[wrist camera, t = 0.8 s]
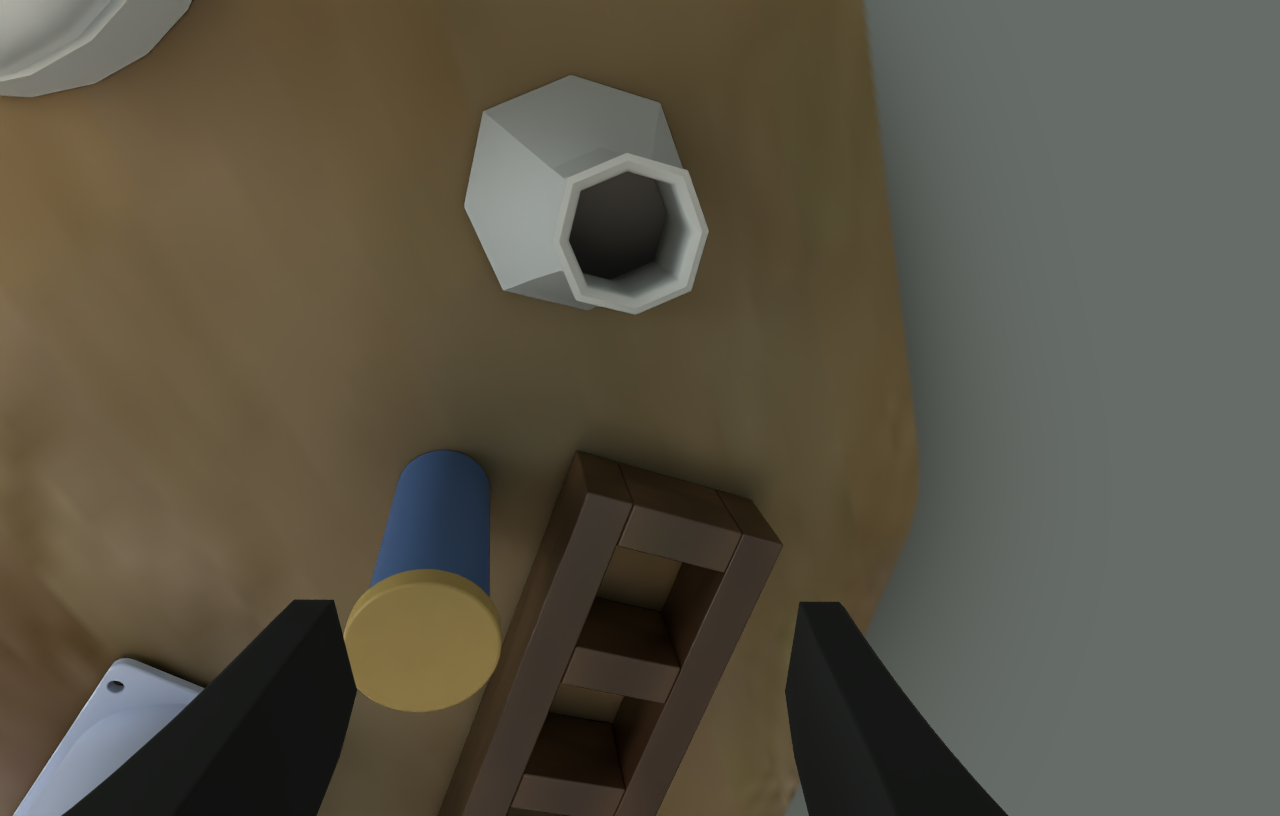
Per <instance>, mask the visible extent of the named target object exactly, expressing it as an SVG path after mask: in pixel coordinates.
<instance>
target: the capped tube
mask: <svg viewBox="0 0 1280 816" xmlns="http://www.w3.org/2000/svg"><path fill="white" fill-rule="evenodd" d="M343 638H344V642H345V645H346V649H347V653H348V657H349V661H350V665H351V669H352V673H353V677H354V680H355V684H356V687H357V688H358V689H359V690H360V691H361V692H362V693H363V694H364V695H365V696H367V697H368V698H370V699H371V700H373V701H375V702H377V703H379V704H381V705H383V706H386V707H389V708H391V709H396V710H400V711H407V712H430V711H436V710H441V709H444V708H448V707H451V706H453V705H456V704H458V703H460V702H462V701H464V700H466V699H468V698H469V697H470V696H472V695H473V694H475V693H476V692H477V691H478V690H479V689H480V688H482V687H483V685H484V684H485V683H486V682H487V681H488V680H489V678H490V677H491V675H492V674H493V672H494V670H495V668H496V666H497V664H498V661H499V658H500V654H501V622H500V617H499V614H498V611H497V609H496V607H495V605H494V603H493V602H492V600H491V599H490V485H489V481H488V478H487V476H486V474H485V472H484V470H483V469H482V468H481V466H480V465H479V464H478V463H477V462H475V461H474V460H473V459H471V458H470V457H468V456H466V455H464V454H461V453H458V452H454V451H447V450H439V451H433V452H429V453H426V454H423V455H421V456H419V457H417V458H416V459H414V460H413V461H412V462H410V463H409V464H408V465H407V466H406V468H405V469H404V470H403V472H402V474H401V475H400V478H399V480H398V484H397V488H396V491H395V495H394V499H393V503H392V506H391V510H390V514H389V517H388V521H387V525H386V529H385V532H384V536H383V540H382V543H381V547H380V551H379V555H378V558H377V562H376V566H375V569H374V573H373V577H372V580H371V584H370V588H369V590H368V591H367V592H365V593H364V594H363V595H362V596H361V598H360V599H359V600H358V601H357V602H356V604H355V606H354V607H353V609H352V611H351V613H350V615H349V618H348V621H347V624H346V627H345V631H344V635H343Z"/></svg>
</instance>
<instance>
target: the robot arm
mask: <svg viewBox="0 0 1280 816" xmlns="http://www.w3.org/2000/svg"><path fill="white" fill-rule="evenodd" d="M113 681H120V682H121V683H123V685H122V686H121V685H117V684H115V683H114V682H113ZM356 692H357V688H356V684H355V680H354V677H353V673H352V669H351V665H350V661H349V657H348V653H347V649H346V645H345V642H344V638H343V634H342V630H341V626H340V622H339V618H338V614H337V610H336V607H335V603H334V600H293V601H292V602H291V603H290V604H289V605H288V606H287V607H286V608H285V609H284V610H283V611H282V612H281V613H280V614H279V615H278V616H277V617H276V618H275V619H274V620H273V621H272V622H271V623H270V624H269V625H268V626H267V627H266V628H265V629H264V630H263V631H262V632H261V633H260V634H259V635H258V636H257V637H256V638H255V639H254V640H253V641H252V642H251V643H250V644H249V645H248V646H247V647H246V648H245V649H244V650H243V651H242V652H241V653H240V654H239V655H238V656H237V657H236V658H235V659H234V660H233V661H232V662H231V663H230V664H229V665H228V666H227V667H226V668H225V669H224V670H223V671H222V672H221V673H220V674H219V675H218V676H217V677H216V678H215V679H214V680H213V681H212V682H211V683H210V684H209V685H208V686H207V687H206V688H203V687H200V686H198V685H195V684H193V683H190V682H188V681H186V680H183V679H181V678H178V677H176V676H173V675H171V674H168V673H166V672H163V671H161V670H158V669H156V668H154V667H151V666H149V665H146V664H144V663H141V662H139V661H136V660H134V659H130V658H122V659H119V660H117V661H115V662H114V663H113V664H112V666H111V667H110V668H109V670H108V671H107V673H106V674H105V676H104V677H103V679H102V681H101V682H100V684H99V685H98V687H97V688H96V690H95V691H94V693H93V694H92V696H91V697H90V699H89V700H88V702H87V703H86V705H85V706H84V708H83V709H82V711H81V712H80V714H79V716H78V717H77V719H76V720H75V722H74V723H73V725H72V726H71V728H70V729H69V731H68V732H67V734H66V735H65V737H64V738H63V740H62V741H61V743H60V744H59V746H58V748H57V749H56V751H55V752H54V754H53V755H52V757H51V758H50V760H49V761H48V763H47V764H46V766H45V767H44V769H43V770H42V772H41V773H40V775H39V776H38V778H37V780H36V781H35V783H34V784H33V786H32V787H31V789H30V790H29V792H28V793H27V795H26V796H25V798H24V799H23V801H22V802H21V804H20V805H19V807H18V808H17V810H16V812H15V813H14V815H13V816H317V813H318V811H319V808H320V805H321V803H322V800H323V798H324V795H325V793H326V790H327V788H328V785H329V782H330V780H331V777H332V775H333V772H334V770H335V767H336V764H337V762H338V759H339V756H340V753H341V749H342V746H343V742H344V739H345V735H346V731H347V728H348V724H349V720H350V716H351V712H352V708H353V704H354V700H355V696H356ZM785 694H786V701H787V709H788V716H789V724H790V731H791V737H792V744H793V751H794V757H795V761H796V765H797V769H798V773H799V777H800V781H801V785H802V789H803V793H804V797H805V801H806V805H807V809H808V813H809V816H1008V815H1007V814H1006V813H1005V812H1004V811H1003V810H1002V808H1001V807H1000V806H999V805H998V804H997V803H996V802H995V801H994V800H993V799H992V798H991V797H990V795H989V794H988V793H987V792H986V791H985V790H984V789H983V788H982V787H981V786H980V784H979V783H978V782H977V781H976V780H975V779H974V778H973V776H972V775H971V774H970V773H969V772H968V771H967V770H966V768H965V767H964V766H963V765H962V764H961V763H960V761H959V760H958V759H957V758H956V757H955V756H954V755H953V753H952V752H951V751H950V750H949V749H948V747H947V746H946V745H945V744H944V742H943V741H942V740H941V739H940V738H939V736H938V735H937V734H936V733H935V731H934V730H933V729H932V728H931V727H930V725H929V724H928V723H927V721H926V720H925V719H924V718H923V716H922V715H921V714H920V712H919V711H918V710H917V709H916V707H915V706H914V705H913V703H912V702H911V701H910V700H909V698H908V697H907V696H906V694H905V693H904V692H903V691H902V689H901V688H900V686H899V685H898V684H897V683H896V681H895V680H894V679H893V677H892V676H891V674H890V673H889V672H888V670H887V669H886V667H885V666H884V665H883V663H882V662H881V660H880V659H879V658H878V656H877V655H876V654H875V652H874V651H873V649H872V648H871V646H870V645H869V643H868V642H867V640H866V639H865V638H864V636H863V635H862V633H861V632H860V630H859V629H858V627H857V626H856V624H855V623H854V621H853V620H852V618H851V617H850V615H849V614H848V612H847V611H846V609H845V608H844V607H843V606H842V605H841V604H840V603H839V602H800V603H799V609H798V615H797V621H796V627H795V633H794V640H793V646H792V652H791V658H790V664H789V671H788V677H787V683H786V689H785Z"/></svg>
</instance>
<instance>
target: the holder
mask: <svg viewBox="0 0 1280 816" xmlns="http://www.w3.org/2000/svg"><path fill="white" fill-rule="evenodd" d="M616 545H618V546H620V547H624V548H628V549H632V550H636V551H640V552H644V553H648V554H652V555H656V556H660V557H664V558H668V559H672V560H676V561H680V562H683V565H682V567H681V569H680V572H679V574H678V576H677V579H676V581H675V583H674V585H673V588H672V590H671V592H670V595H669V597H668V599H667V601H666V604H665V606H664V608H663V611H662V613H660V612H656V611H651V610H647V609H643V608H638V607H634V606H630V605H625V604H621V603H617V602H612V601H608V600H603V599H599V598H595V597H596V594H597V592H598V589H599V587H600V584H601V582H602V580H603V577H604V575H605V572H606V570H607V567H608V565H609V562H610V560H611V557H612V555H613V553H614V550H615V548H616ZM782 547H783V544H782V542H781V541H780V539H779V538H778V537H777V535H776V534H775V532H774V531H773V529H772V528H771V527H770V525H769V524H768V522H767V521H766V520H765V518H764V517H763V515H762V514H761V513H760V511H759V510H758V508H757V507H756V506H755V504H754V503H753V501H752V500H750V499H746V498H743V497H739V496H736V495H732V494H729V493H725V492H722V491H718V490H714V489H711V488H707V487H703V486H700V485H696V484H693V483H689V482H686V481H682V480H679V479H675V478H672V477H668V476H665V475H661V474H658V473H654V472H651V471H647V470H644V469H640V468H637V467H633V466H630V465H626V464H623V463H617V462H616V461H613V460H609V459H606V458H602V457H599V456H595V455H592V454H588V453H585V452H581V451H576V452H575V455H574V458H573V460H572V463H571V466H570V468H569V471H568V474H567V476H566V479H565V482H564V484H563V487H562V489H561V492H560V495H559V497H558V500H557V503H556V505H555V508H554V511H553V513H552V516H551V519H550V521H549V524H548V527H547V529H546V532H545V534H544V537H543V540H542V542H541V545H540V548H539V550H538V553H537V556H536V558H535V561H534V564H533V566H532V569H531V572H530V574H529V577H528V579H527V582H526V585H525V587H524V590H523V593H522V595H521V598H520V601H519V603H518V606H517V609H516V611H515V614H514V617H513V619H512V622H511V624H510V627H509V630H508V632H507V635H506V638H505V640H504V643H503V646H502V648H501V654H500V658H499V661H498V664H497V666H496V668H495V670H494V672H493V674H492V675H491V677H490V680H489V683H488V685H487V688H486V691H485V693H484V696H483V699H482V701H481V704H480V706H479V709H478V712H477V714H476V717H475V720H474V722H473V725H472V728H471V730H470V733H469V736H468V738H467V741H466V744H465V746H464V749H463V751H462V754H461V757H460V759H459V762H458V765H457V767H456V770H455V773H454V775H453V778H452V781H451V783H450V786H449V789H448V791H447V794H446V796H445V799H444V802H443V804H442V807H441V810H440V812H439V815H438V816H506V815H507V813H508V810H509V808H510V805H511V807H512V808H518V809H525V810H532V811H539V812H546V813H553V814H560V815H567V816H656V814H657V811H658V809H659V807H660V805H661V803H662V801H663V799H664V797H665V795H666V792H667V790H668V788H669V786H670V784H671V782H672V780H673V778H674V776H675V773H676V771H677V769H678V767H679V765H680V763H681V761H682V759H683V756H684V754H685V752H686V750H687V748H688V746H689V744H690V742H691V740H692V737H693V735H694V733H695V731H696V729H697V727H698V725H699V723H700V720H701V718H702V716H703V714H704V712H705V710H706V708H707V706H708V704H709V701H710V699H711V697H712V695H713V693H714V691H715V689H716V687H717V684H718V682H719V680H720V678H721V676H722V674H723V672H724V670H725V668H726V665H727V663H728V661H729V659H730V657H731V655H732V653H733V651H734V648H735V646H736V644H737V642H738V640H739V638H740V636H741V634H742V632H743V629H744V627H745V625H746V623H747V621H748V619H749V617H750V615H751V613H752V610H753V608H754V606H755V604H756V602H757V600H758V598H759V596H760V593H761V591H762V589H763V587H764V585H765V583H766V581H767V579H768V577H769V574H770V572H771V570H772V568H773V566H774V564H775V562H776V560H777V557H778V555H779V553H780V551H781V549H782ZM560 683H562V684H566V685H571V686H576V687H581V688H587V689H592V690H597V691H602V692H607V693H613V694H618V695H623V696H625V698H624V700H623V702H622V705H621V707H620V709H619V711H618V714H617V716H616V718H615V721H614V723H613V725H611V724H606V723H601V722H595V721H590V720H584V719H579V718H573V717H568V716H562V715H557V714H551V713H548V712H549V710H550V707H551V705H552V702H553V700H554V697H555V695H556V692H557V690H558V688H559V685H560Z"/></svg>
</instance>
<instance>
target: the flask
mask: <svg viewBox="0 0 1280 816" xmlns="http://www.w3.org/2000/svg"><path fill="white" fill-rule="evenodd" d="M464 207H465V210H466V212H467V214H468V216H469V218H470V220H471V223H472V225H473V227H474V229H475V231H476V233H477V235H478V238H479V240H480V242H481V244H482V246H483V248H484V251H485V253H486V255H487V257H488V259H489V261H490V263H491V266H492V268H493V270H494V272H495V274H496V276H497V279H498V281H499V283H500V285H501V287H502V289H503V291H507V292H512V293H516V294H520V295H524V296H529V297H533V298H537V299H541V300H546V301H550V302H554V303H558V304H563V305H567V306H571V307H575V308H580V309H584V310H590V309H593V308H595V307H597V306H601V307H605V308H609V309H614V310H618V311H622V312H626V313H630V314H635V315H636V314H638V313H641V312H643V311H645V310H648V309H650V308H652V307H655V306H657V305H659V304H662V303H664V302H666V301H669V300H671V299H673V298H676V297H678V296H680V295H683V294H685V293H687V292H690V291H691V290H692V286H693V283H694V279H695V276H696V273H697V269H698V266H699V262H700V259H701V256H702V252H703V249H704V245H705V242H706V238H707V235H708V232H709V230H708V227H707V225H706V222H705V219H704V216H703V213H702V210H701V207H700V204H699V201H698V198H697V195H696V192H695V189H694V187H693V184H692V181H691V178H690V175H689V172H688V170H685V169H683V168H682V165H681V162H680V159H679V156H678V153H677V150H676V147H675V144H674V142H673V139H672V136H671V133H670V130H669V127H668V124H667V121H666V118H665V115H664V113H663V110H662V107H661V104H660V103H659V102H656V101H653V100H649V99H646V98H643V97H640V96H637V95H634V94H630V93H627V92H624V91H621V90H618V89H614V88H611V87H608V86H605V85H602V84H599V83H595V82H592V81H589V80H586V79H583V78H580V77H576V76H573V75H569V76H567V77H564V78H562V79H559V80H557V81H555V82H552V83H550V84H547V85H545V86H543V87H540V88H538V89H535V90H533V91H531V92H528V93H526V94H523V95H521V96H519V97H516V98H514V99H511V100H509V101H506V102H504V103H502V104H499V105H497V106H494V107H492V108H490V109H487V110H485V111H483V114H482V119H481V124H480V129H479V134H478V139H477V144H476V149H475V154H474V159H473V164H472V169H471V174H470V179H469V184H468V189H467V194H466V199H465V204H464Z"/></svg>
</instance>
